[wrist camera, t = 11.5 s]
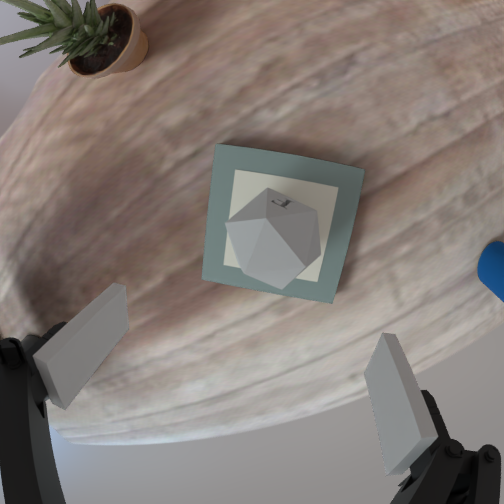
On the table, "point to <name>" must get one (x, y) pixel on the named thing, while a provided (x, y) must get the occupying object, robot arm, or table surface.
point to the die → (274, 238)
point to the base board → (296, 187)
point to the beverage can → (492, 268)
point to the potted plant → (85, 35)
